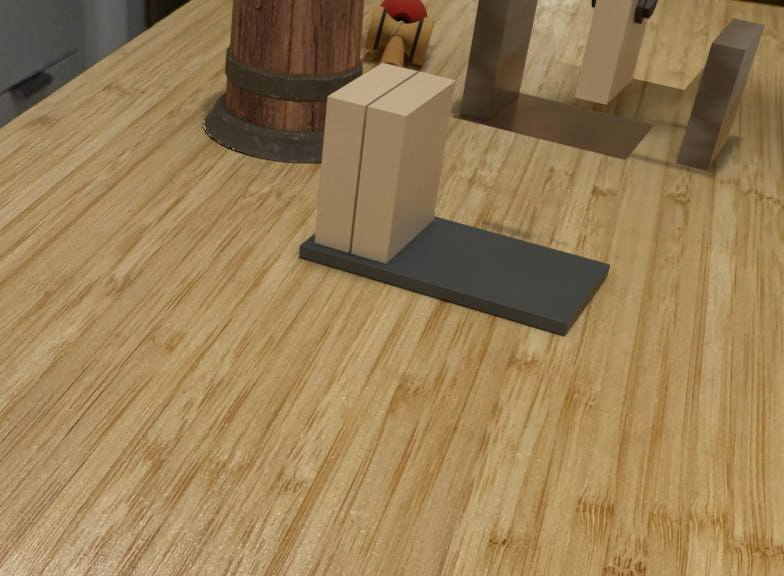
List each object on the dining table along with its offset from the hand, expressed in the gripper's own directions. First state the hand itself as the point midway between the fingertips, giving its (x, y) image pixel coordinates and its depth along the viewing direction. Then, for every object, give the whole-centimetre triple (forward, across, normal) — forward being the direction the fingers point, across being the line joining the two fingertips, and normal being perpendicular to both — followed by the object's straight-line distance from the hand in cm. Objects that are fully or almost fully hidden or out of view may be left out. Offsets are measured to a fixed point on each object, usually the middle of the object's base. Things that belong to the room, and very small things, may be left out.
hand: (617, 13), depth 105 cm
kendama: (+1, +25, -16) cm, 30 cm away
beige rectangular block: (+4, 0, -6) cm, 7 cm away
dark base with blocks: (+33, +1, +16) cm, 36 cm away
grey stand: (+7, 0, -10) cm, 12 cm away
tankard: (+17, +26, 0) cm, 31 cm away
